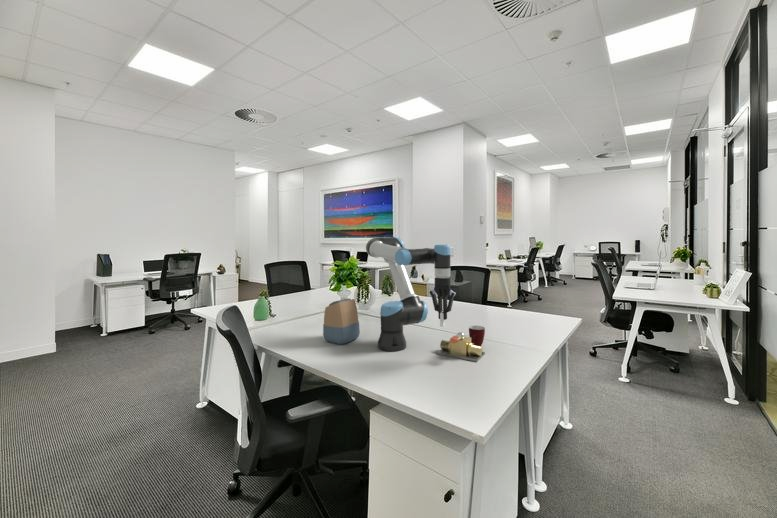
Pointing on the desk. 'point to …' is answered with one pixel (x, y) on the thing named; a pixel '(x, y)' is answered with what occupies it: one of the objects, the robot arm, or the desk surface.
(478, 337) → the mug
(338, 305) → the two-tone tapered canister
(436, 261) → the robot arm
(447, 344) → the valve block
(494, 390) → the desk surface
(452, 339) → the lever
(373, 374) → the desk surface
